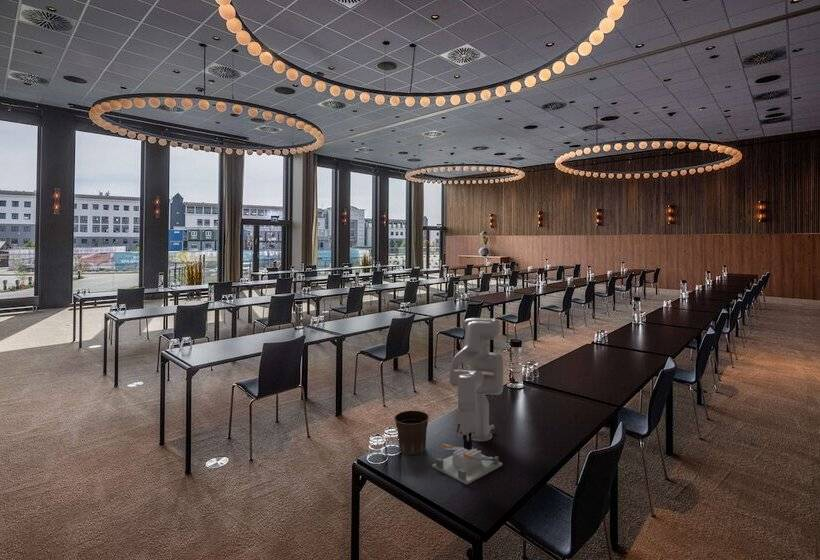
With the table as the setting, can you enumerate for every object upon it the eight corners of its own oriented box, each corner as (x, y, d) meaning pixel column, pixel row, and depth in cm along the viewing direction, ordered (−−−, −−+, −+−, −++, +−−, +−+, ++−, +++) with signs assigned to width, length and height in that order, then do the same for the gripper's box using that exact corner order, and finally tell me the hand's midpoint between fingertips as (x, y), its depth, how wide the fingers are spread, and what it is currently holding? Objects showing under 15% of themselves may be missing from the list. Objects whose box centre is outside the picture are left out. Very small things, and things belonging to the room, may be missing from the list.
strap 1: (467, 449, 207) (468, 445, 207) (472, 451, 204) (473, 447, 205) (440, 447, 195) (441, 443, 195) (445, 450, 193) (446, 446, 193)
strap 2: (489, 459, 197) (490, 454, 197) (495, 461, 195) (496, 457, 195) (462, 458, 185) (463, 453, 185) (468, 460, 183) (469, 456, 183)
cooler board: (467, 450, 210) (467, 436, 209) (502, 465, 195) (502, 450, 194) (432, 466, 195) (431, 452, 194) (466, 484, 180) (466, 469, 179)
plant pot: (418, 461, 200) (417, 426, 199) (388, 453, 209) (387, 419, 207) (435, 447, 214) (435, 414, 213) (406, 440, 222) (406, 408, 221)
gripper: (472, 398, 191) (472, 440, 192) (447, 406, 181) (448, 451, 182) (486, 402, 185) (486, 446, 186) (461, 411, 175) (462, 457, 177)
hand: (467, 448), depth 184 cm, fingers closed
